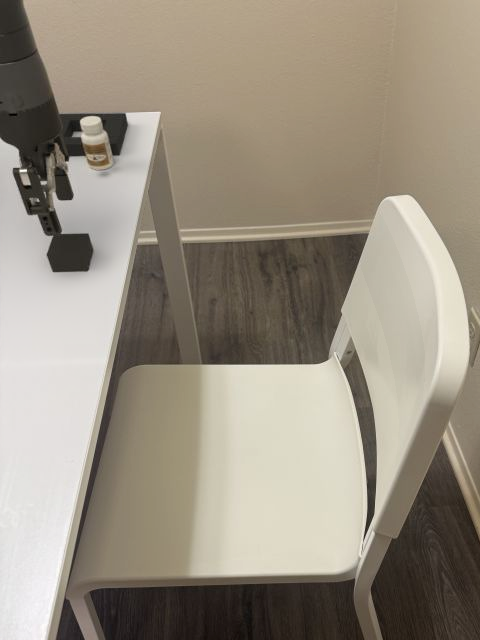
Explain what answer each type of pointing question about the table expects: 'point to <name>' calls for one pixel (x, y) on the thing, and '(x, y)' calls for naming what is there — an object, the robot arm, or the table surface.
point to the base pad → (111, 124)
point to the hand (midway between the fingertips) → (60, 216)
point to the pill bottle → (96, 143)
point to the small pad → (70, 252)
